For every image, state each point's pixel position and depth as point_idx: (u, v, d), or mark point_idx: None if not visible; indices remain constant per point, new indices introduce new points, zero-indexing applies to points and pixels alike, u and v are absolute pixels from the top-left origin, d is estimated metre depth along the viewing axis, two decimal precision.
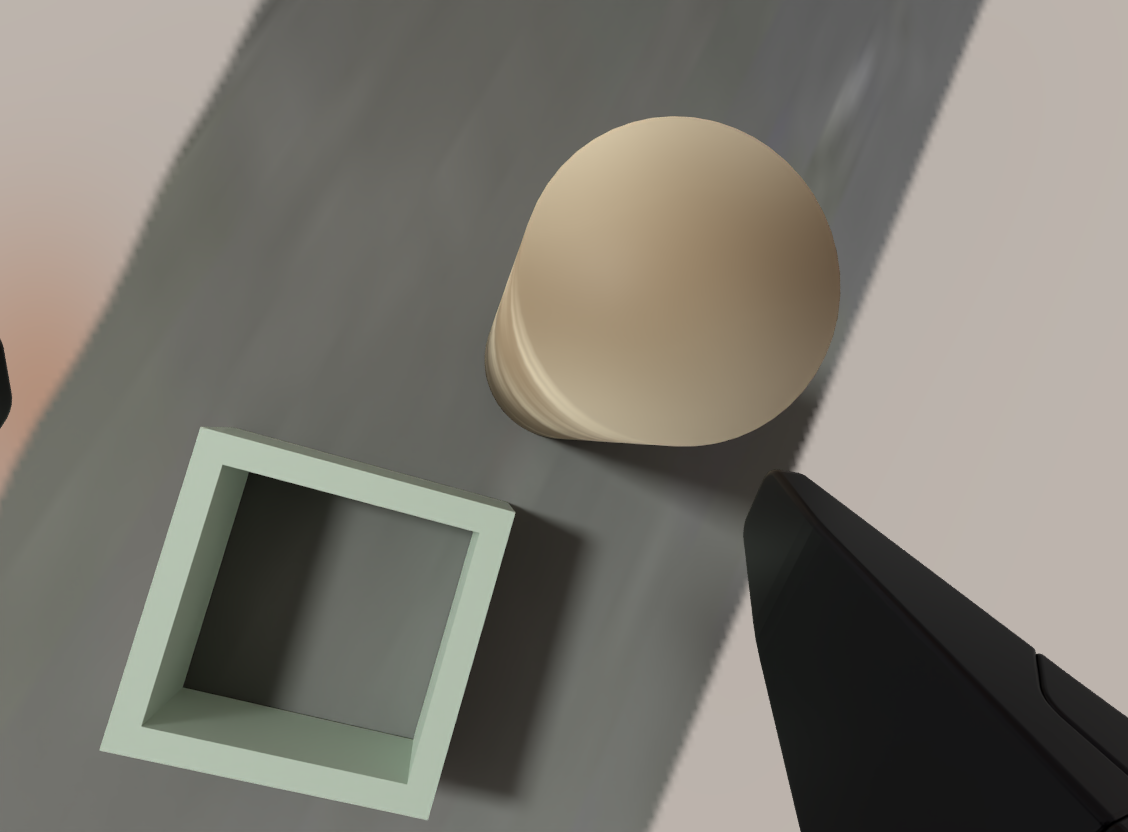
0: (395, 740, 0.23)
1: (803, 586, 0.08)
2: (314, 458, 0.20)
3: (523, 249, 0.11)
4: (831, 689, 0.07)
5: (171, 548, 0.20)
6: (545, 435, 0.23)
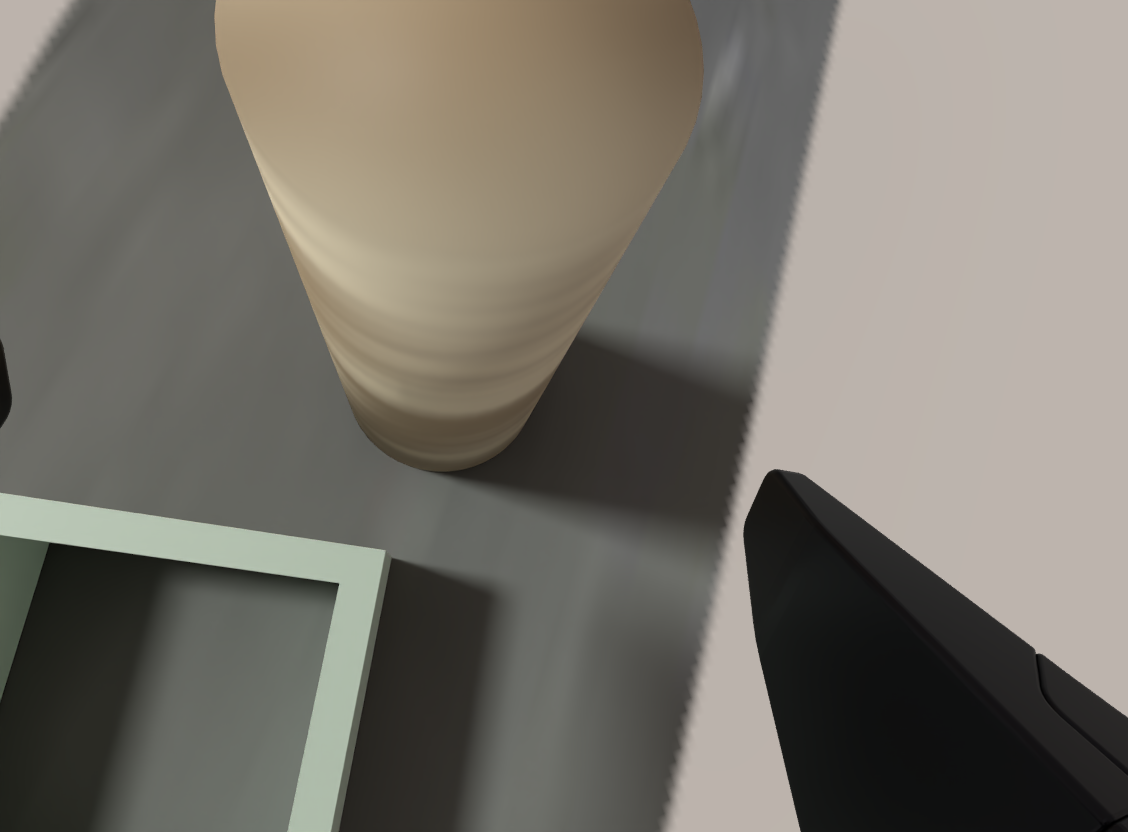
0: None
1: (803, 586, 0.08)
2: (107, 509, 0.15)
3: None
4: (831, 689, 0.07)
5: None
6: (424, 459, 0.18)
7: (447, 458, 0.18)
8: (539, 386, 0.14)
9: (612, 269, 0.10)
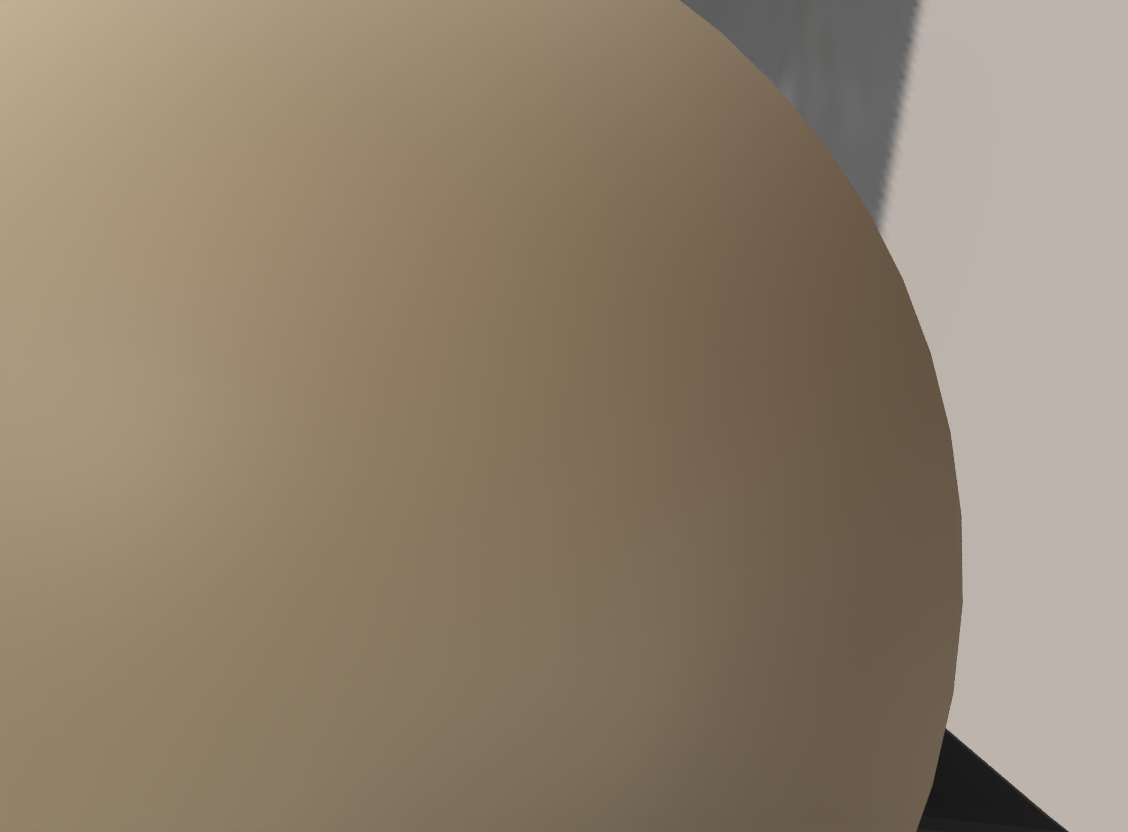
0: None
1: None
2: None
3: None
4: None
5: None
6: None
7: None
8: None
9: None
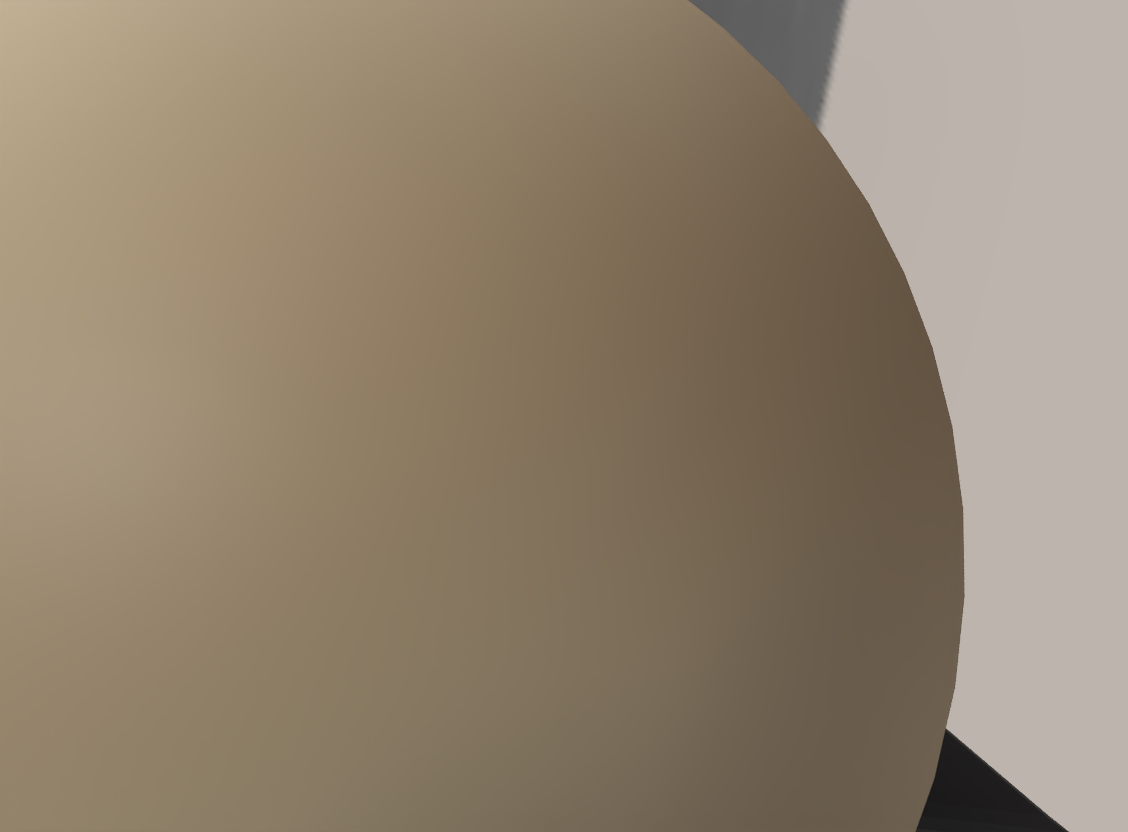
0: None
1: None
2: None
3: None
4: None
5: None
6: None
7: None
8: None
9: None
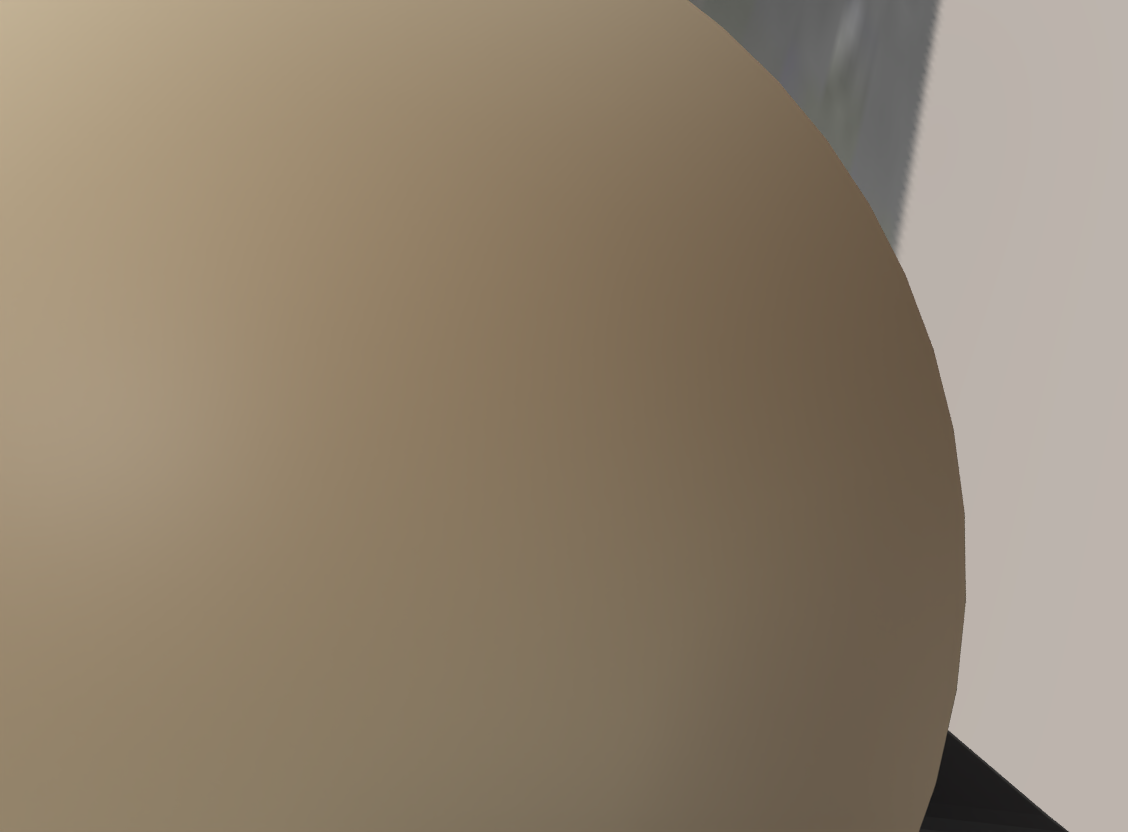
0: None
1: None
2: None
3: None
4: None
5: None
6: None
7: None
8: None
9: None
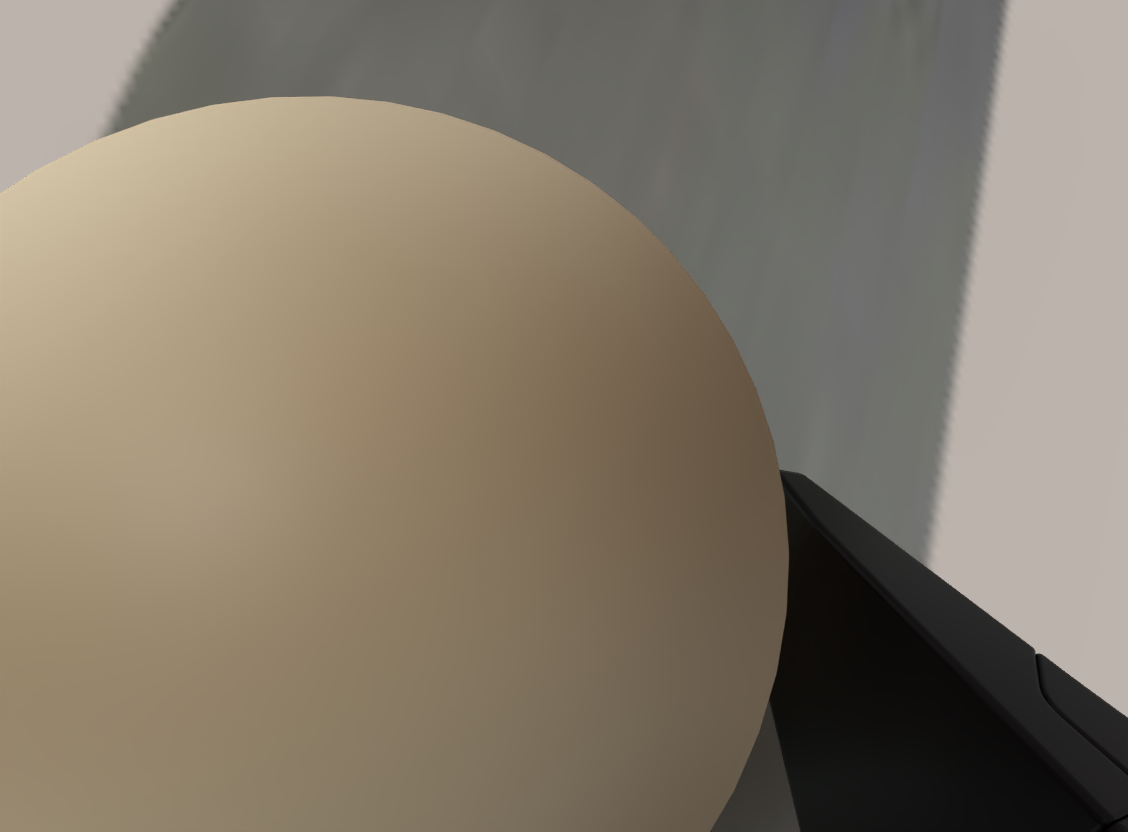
0: None
1: (803, 586, 0.08)
2: None
3: None
4: (831, 689, 0.07)
5: None
6: None
7: None
8: None
9: None
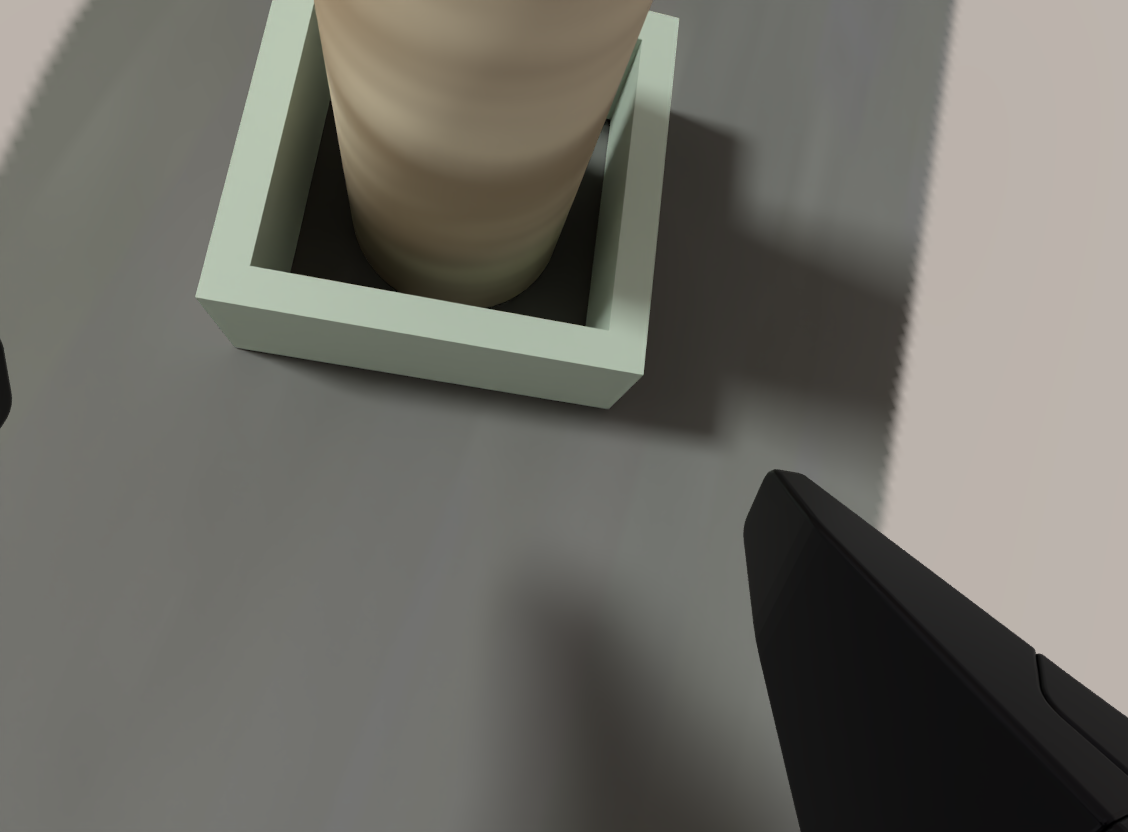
0: None
1: (803, 586, 0.08)
2: None
3: None
4: (831, 689, 0.07)
5: (269, 55, 0.15)
6: (440, 283, 0.16)
7: (467, 277, 0.16)
8: (579, 145, 0.13)
9: None
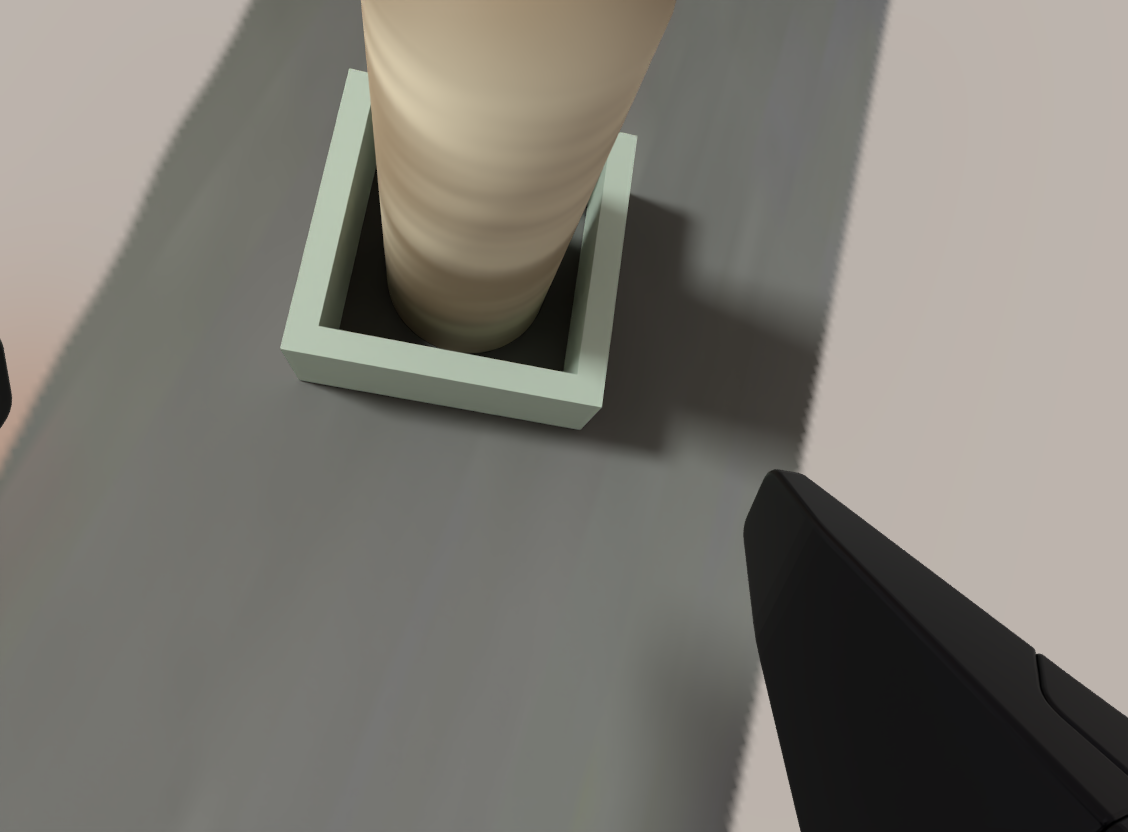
0: None
1: (803, 586, 0.08)
2: None
3: None
4: (831, 689, 0.07)
5: (332, 169, 0.21)
6: (453, 336, 0.22)
7: (473, 333, 0.22)
8: (553, 255, 0.18)
9: (613, 134, 0.14)
